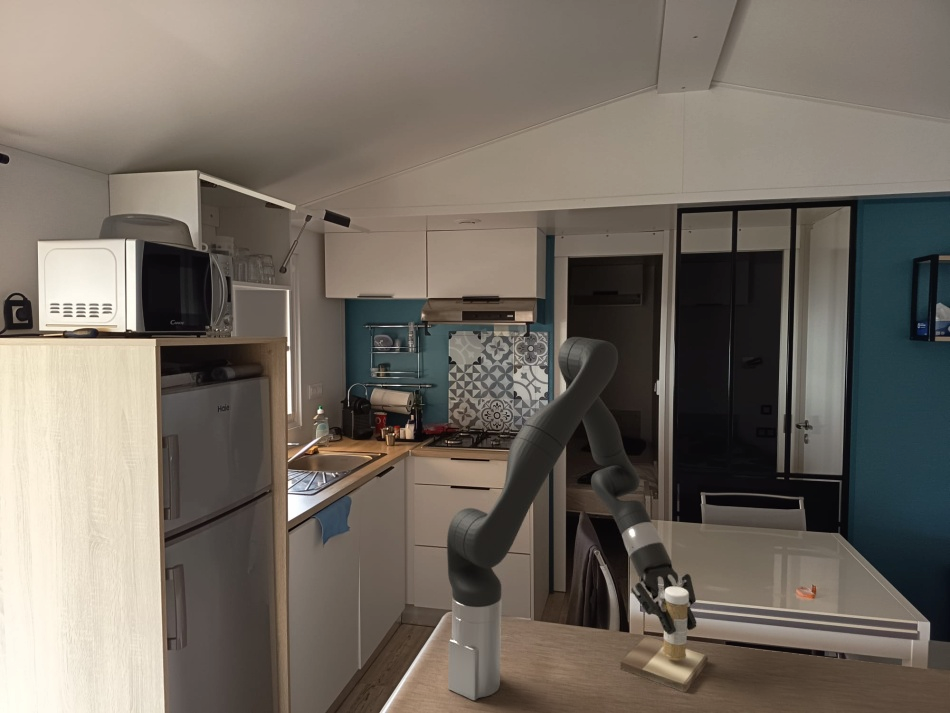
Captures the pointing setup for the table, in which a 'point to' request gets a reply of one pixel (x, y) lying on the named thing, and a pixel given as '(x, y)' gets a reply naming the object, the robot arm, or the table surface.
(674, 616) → the sprinkles bottle
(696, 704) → the table surface
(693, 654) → the board
